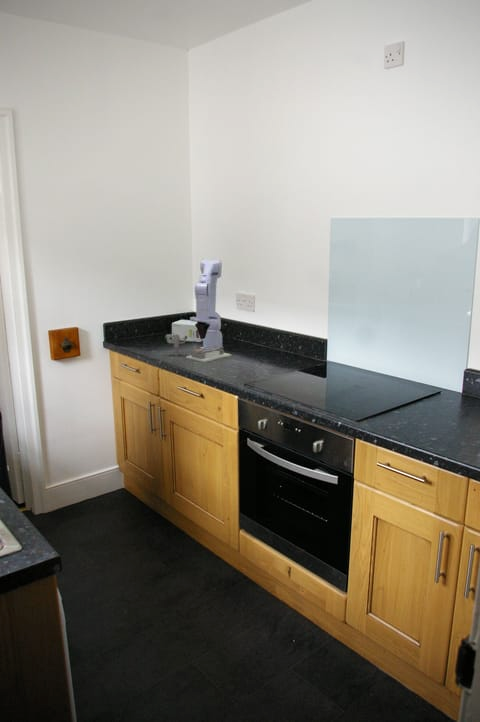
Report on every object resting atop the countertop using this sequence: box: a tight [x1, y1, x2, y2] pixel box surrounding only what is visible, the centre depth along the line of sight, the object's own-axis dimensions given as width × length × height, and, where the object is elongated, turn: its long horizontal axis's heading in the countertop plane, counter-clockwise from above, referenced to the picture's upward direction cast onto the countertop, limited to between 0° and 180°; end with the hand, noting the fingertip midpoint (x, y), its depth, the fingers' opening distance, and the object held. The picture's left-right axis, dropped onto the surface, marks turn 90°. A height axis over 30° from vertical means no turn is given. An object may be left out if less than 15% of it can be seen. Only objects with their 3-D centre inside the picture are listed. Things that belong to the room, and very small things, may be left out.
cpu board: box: [186, 348, 232, 363], centre depth 275 cm, size 18×12×4 cm, turn 138°
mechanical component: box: [164, 333, 187, 357], centre depth 276 cm, size 3×10×10 cm, turn 89°
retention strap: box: [193, 346, 223, 353], centre depth 274 cm, size 14×4×1 cm, turn 138°
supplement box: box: [171, 319, 203, 343], centre depth 318 cm, size 17×13×9 cm
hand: (202, 338), depth 271 cm, fingers closed
